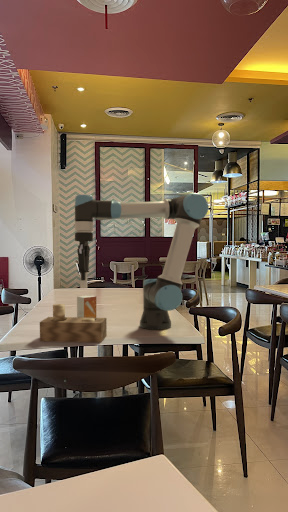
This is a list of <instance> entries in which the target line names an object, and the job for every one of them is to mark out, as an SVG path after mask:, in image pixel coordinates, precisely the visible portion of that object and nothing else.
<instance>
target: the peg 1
mask: <svg viewBox="0 0 288 512" xmlns="http://www.w3.org/2000/svg"><path fill="white" fill-rule="evenodd" d="M65 309H66V305H65V303H57V304H56V303H55V304H53V305H52V317H53V321H65V317H66V316H65V315H66V310H65Z"/></svg>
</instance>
